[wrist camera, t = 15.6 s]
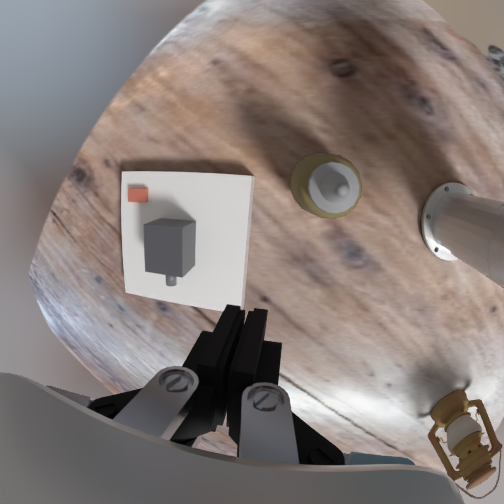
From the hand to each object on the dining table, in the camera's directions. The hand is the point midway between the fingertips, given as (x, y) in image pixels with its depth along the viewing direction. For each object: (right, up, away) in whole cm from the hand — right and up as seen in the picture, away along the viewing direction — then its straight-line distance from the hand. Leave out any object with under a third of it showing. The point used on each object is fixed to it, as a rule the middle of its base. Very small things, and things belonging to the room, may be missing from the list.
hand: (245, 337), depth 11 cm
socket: (-10, +6, +30) cm, 32 cm away
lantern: (+48, -34, +33) cm, 68 cm away
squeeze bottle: (+10, +13, +26) cm, 30 cm away
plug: (-10, +5, +30) cm, 32 cm away
